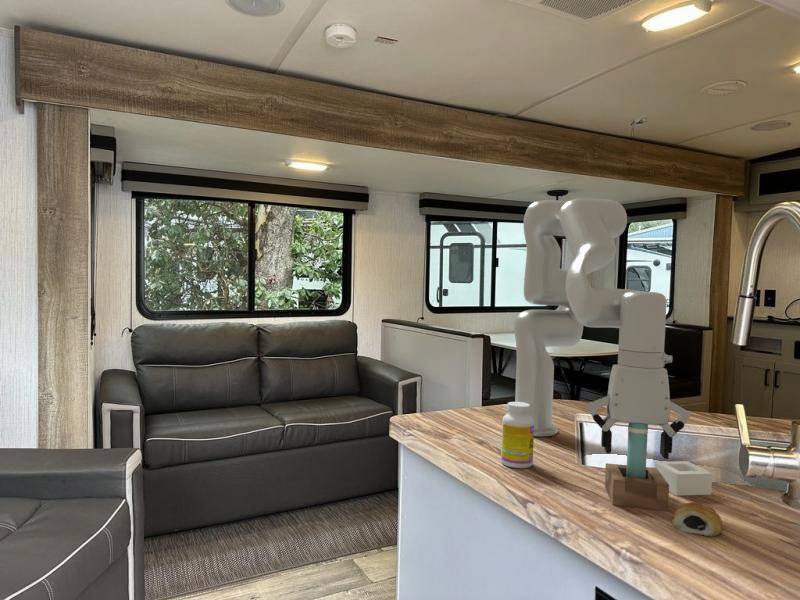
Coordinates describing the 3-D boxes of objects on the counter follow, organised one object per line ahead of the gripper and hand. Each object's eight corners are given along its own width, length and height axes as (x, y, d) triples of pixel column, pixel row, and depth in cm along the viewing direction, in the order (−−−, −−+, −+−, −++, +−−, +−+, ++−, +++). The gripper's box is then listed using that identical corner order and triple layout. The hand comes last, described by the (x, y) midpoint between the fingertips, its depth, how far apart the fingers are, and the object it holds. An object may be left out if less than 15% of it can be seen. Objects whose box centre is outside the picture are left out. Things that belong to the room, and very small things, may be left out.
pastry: (679, 511, 96) (681, 489, 95) (725, 521, 92) (726, 499, 92) (670, 530, 88) (672, 506, 88) (719, 542, 84) (721, 518, 84)
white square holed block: (654, 481, 109) (654, 461, 109) (686, 481, 110) (687, 461, 110) (676, 495, 102) (677, 474, 102) (711, 494, 103) (712, 473, 103)
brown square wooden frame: (604, 486, 106) (605, 463, 105) (655, 491, 104) (656, 467, 104) (612, 504, 97) (613, 479, 97) (668, 510, 95) (669, 484, 95)
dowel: (623, 493, 102) (626, 418, 102) (642, 495, 101) (646, 420, 101) (626, 500, 99) (630, 423, 98) (646, 502, 98) (650, 424, 98)
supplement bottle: (533, 470, 113) (535, 408, 113) (500, 467, 115) (502, 406, 114) (532, 460, 120) (534, 401, 120) (501, 457, 121) (503, 399, 121)
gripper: (686, 360, 101) (681, 452, 102) (587, 354, 105) (583, 443, 106) (699, 366, 94) (693, 465, 95) (592, 360, 98) (587, 455, 98)
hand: (635, 453), depth 100 cm, fingers open, 9 cm apart
